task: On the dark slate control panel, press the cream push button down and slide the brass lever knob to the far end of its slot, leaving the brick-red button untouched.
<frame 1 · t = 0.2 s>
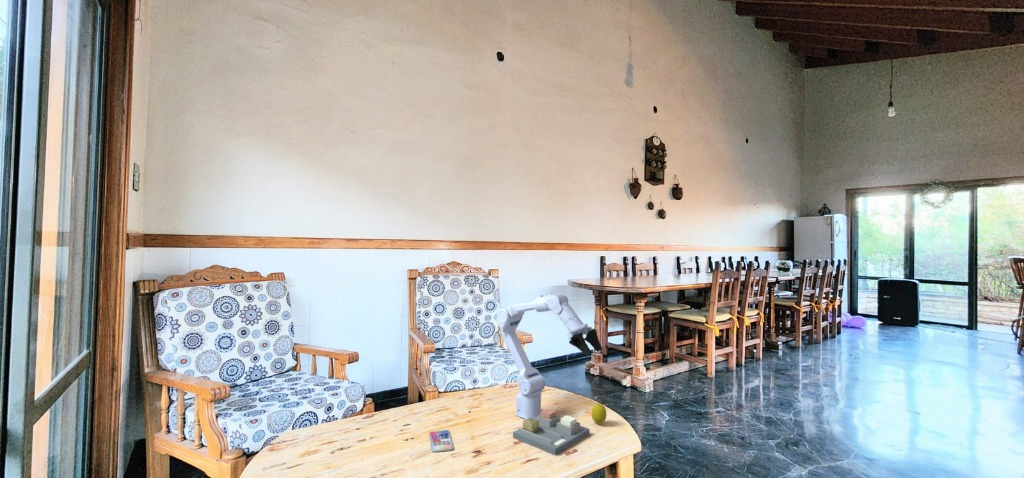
hand: (594, 351, 152), 30 cm above the table, tool tilted 45°, fingers open, 7 cm apart
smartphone: (440, 443, 148), on the table
panel: (551, 436, 154), on the table
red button: (548, 414, 161), point 5 cm above the table, slide at 0.0 cm
lemon: (598, 424, 165), on the table
cream button: (568, 421, 155), point 5 cm above the table, slide at 0.0 cm
slider knob: (531, 425, 153), point 4 cm above the table, slide at 0.0 cm
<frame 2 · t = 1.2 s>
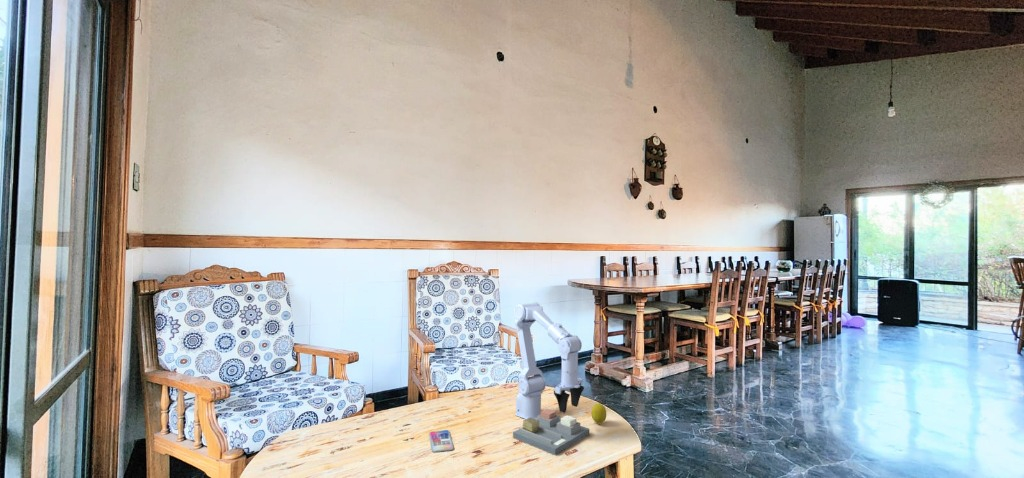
hand: (568, 408, 155), 9 cm above the table, tool pointing down, fingers open, 7 cm apart
nothing on the table moved.
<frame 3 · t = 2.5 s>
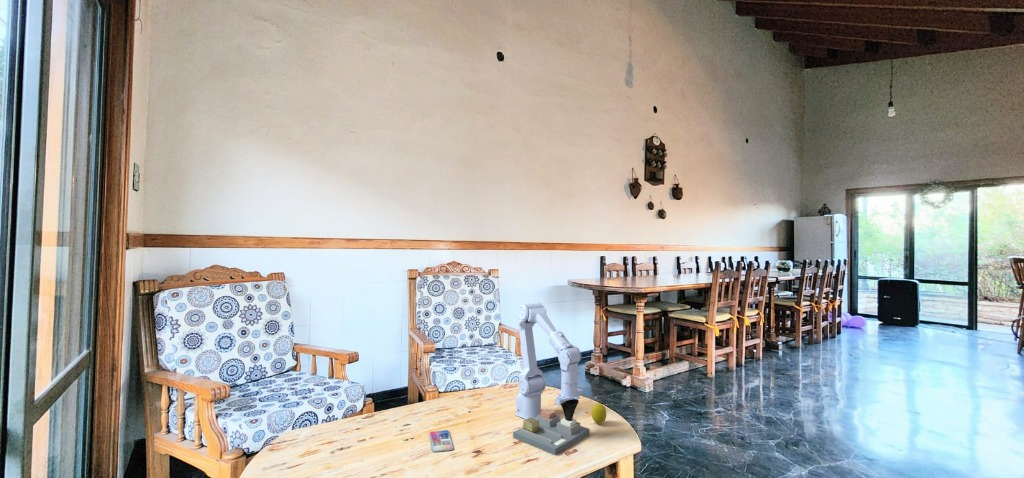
hand: (568, 420, 155), 5 cm above the table, tool pointing down, fingers closed, pressing on cream button
cream button: (568, 422, 155), point 5 cm above the table, slide at 0.5 cm, touching gripper
everything else where it was.
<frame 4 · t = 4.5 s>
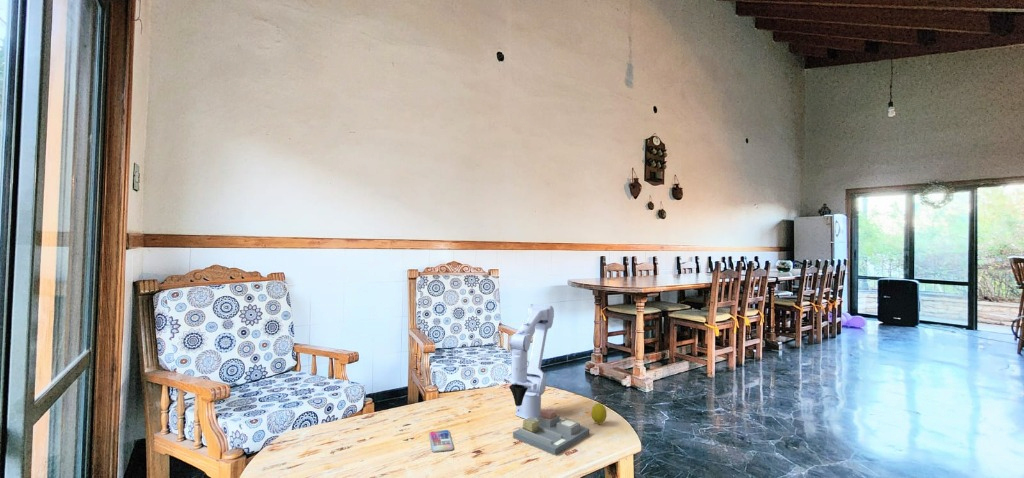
hand: (518, 405, 157), 9 cm above the table, tool pointing down, fingers closed
cream button: (568, 425, 155), point 3 cm above the table, slide at 1.5 cm
everything else where it was.
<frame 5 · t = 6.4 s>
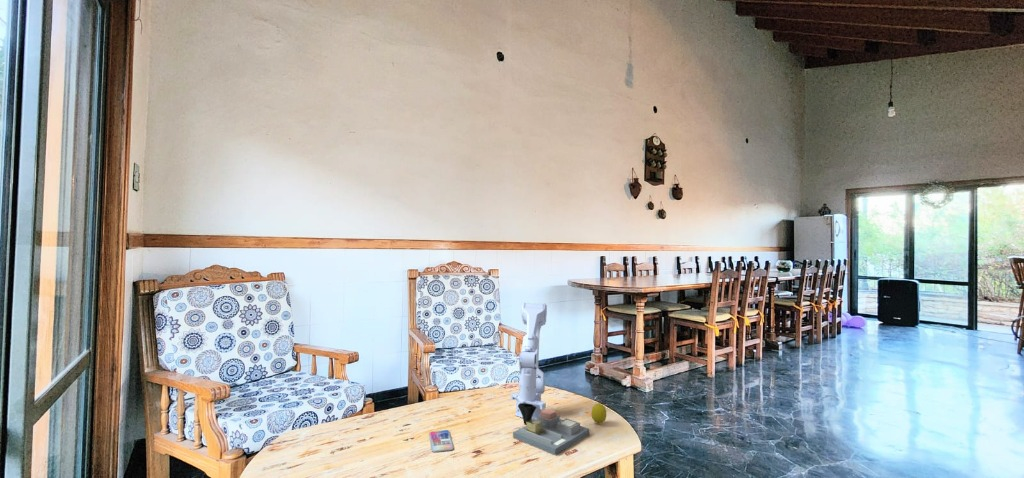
hand: (527, 424, 154), 4 cm above the table, tool pointing down, fingers closed
slider knob: (534, 426, 152), point 4 cm above the table, slide at 1.4 cm, touching gripper
everything else where it was.
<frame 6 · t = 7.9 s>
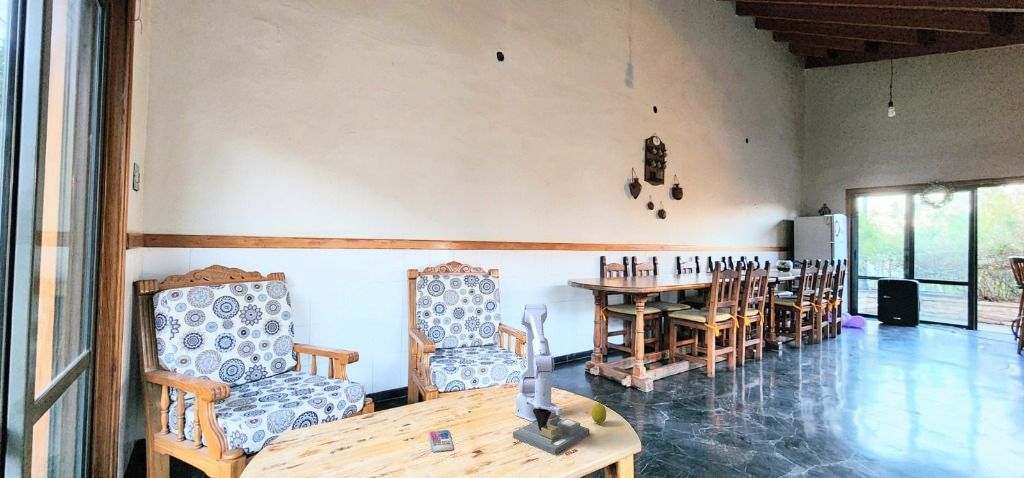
hand: (542, 429, 150), 4 cm above the table, tool pointing down, fingers closed
slider knob: (549, 432, 148), point 4 cm above the table, slide at 8.1 cm, touching gripper
everything else where it was.
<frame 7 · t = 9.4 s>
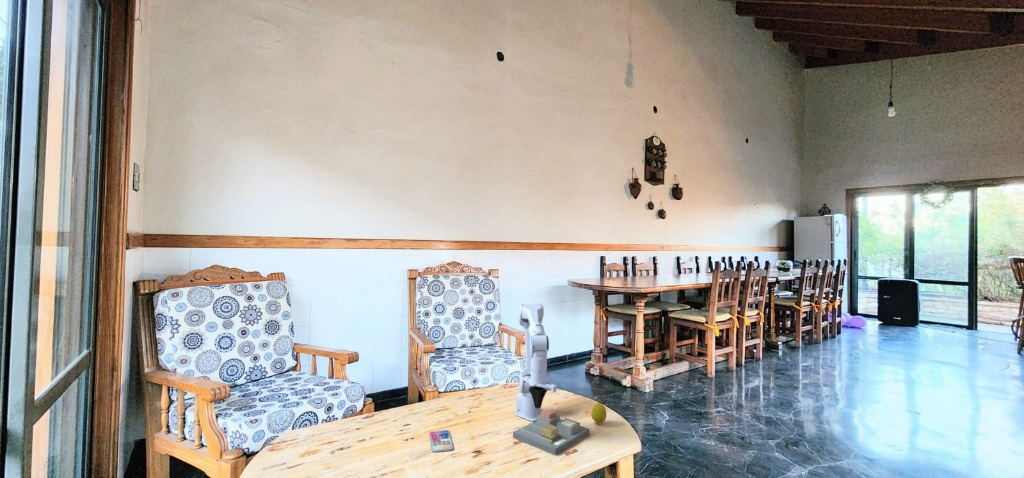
hand: (537, 407, 155), 10 cm above the table, tool pointing down, fingers closed
slider knob: (549, 432, 148), point 4 cm above the table, slide at 8.1 cm
everything else where it was.
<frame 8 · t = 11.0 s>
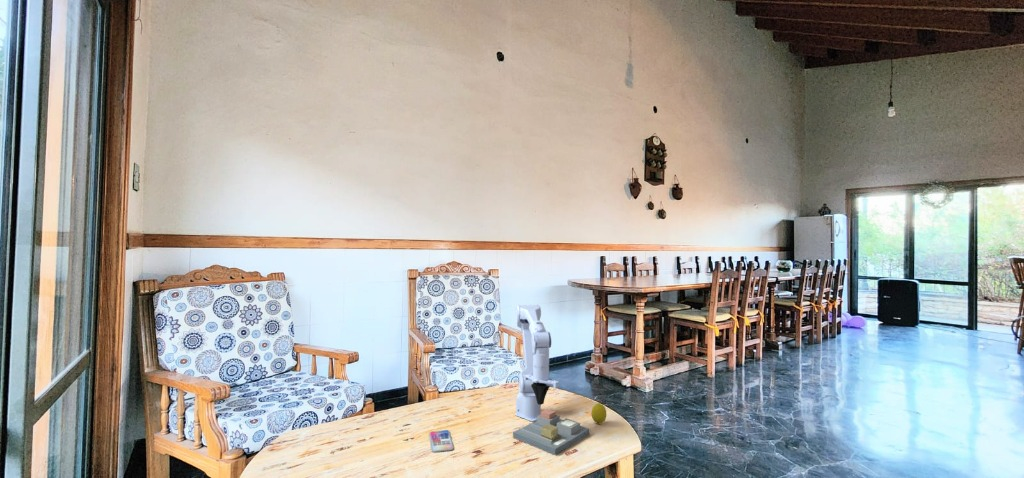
hand: (540, 403, 157), 10 cm above the table, tool pointing down, fingers closed
nothing on the table moved.
at the end: cream button slide at 1.5 cm; slider knob slide at 8.1 cm; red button slide at 0.0 cm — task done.
